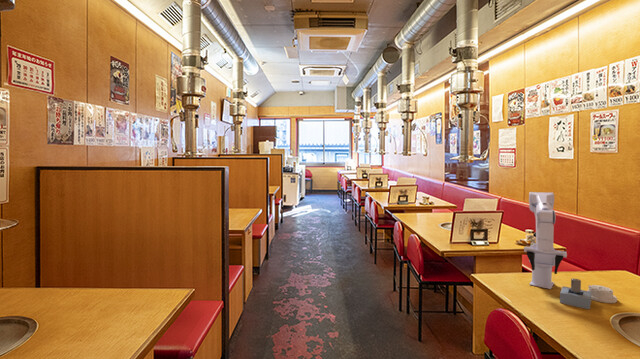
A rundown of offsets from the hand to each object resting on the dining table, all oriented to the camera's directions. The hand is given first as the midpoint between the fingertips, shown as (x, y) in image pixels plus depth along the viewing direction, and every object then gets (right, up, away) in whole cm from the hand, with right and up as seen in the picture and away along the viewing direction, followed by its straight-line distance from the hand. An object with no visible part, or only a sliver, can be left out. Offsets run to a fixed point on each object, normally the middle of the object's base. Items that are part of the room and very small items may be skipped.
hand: (544, 271), depth 135 cm
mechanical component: (+20, -10, -3) cm, 23 cm away
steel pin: (+7, -10, -7) cm, 14 cm away
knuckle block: (+7, -10, -7) cm, 14 cm away
